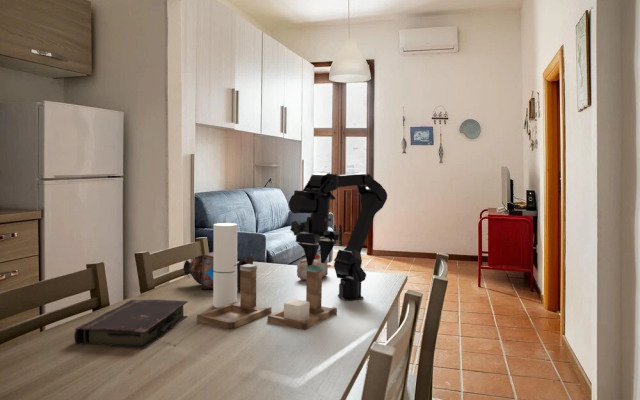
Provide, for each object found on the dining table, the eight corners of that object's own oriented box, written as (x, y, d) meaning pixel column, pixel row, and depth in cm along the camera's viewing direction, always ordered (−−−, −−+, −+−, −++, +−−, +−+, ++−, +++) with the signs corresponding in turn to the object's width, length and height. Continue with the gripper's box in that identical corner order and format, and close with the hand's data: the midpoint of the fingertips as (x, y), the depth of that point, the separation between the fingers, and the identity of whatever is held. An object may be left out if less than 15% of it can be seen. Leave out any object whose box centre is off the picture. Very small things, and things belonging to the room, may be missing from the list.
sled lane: (301, 308, 144) (302, 262, 143) (336, 315, 138) (337, 267, 137) (267, 324, 129) (267, 272, 128) (305, 332, 123) (305, 278, 122)
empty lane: (238, 308, 144) (239, 261, 143) (271, 315, 138) (271, 266, 137) (197, 324, 129) (197, 271, 128) (231, 332, 123) (231, 277, 122)
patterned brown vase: (249, 305, 170) (183, 297, 174) (260, 265, 179) (198, 258, 183) (239, 284, 157) (168, 276, 161) (251, 242, 166) (184, 235, 170)
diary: (73, 347, 114) (72, 326, 114) (129, 315, 139) (129, 298, 138) (147, 351, 111) (146, 330, 111) (190, 318, 136) (190, 300, 136)
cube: (294, 316, 134) (294, 298, 134) (309, 319, 132) (309, 301, 131) (283, 321, 130) (284, 303, 129) (299, 324, 127) (299, 306, 127)
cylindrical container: (241, 303, 150) (241, 223, 148) (229, 309, 143) (229, 226, 142) (221, 300, 152) (221, 222, 151) (208, 306, 146) (208, 225, 144)
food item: (313, 283, 178) (314, 257, 177) (295, 281, 181) (295, 255, 181) (329, 276, 190) (330, 251, 189) (311, 274, 193) (312, 249, 193)
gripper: (309, 211, 159) (306, 258, 159) (281, 212, 142) (278, 264, 142) (340, 214, 154) (337, 262, 154) (315, 215, 137) (312, 269, 137)
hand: (316, 264), depth 147 cm, fingers open, 9 cm apart
